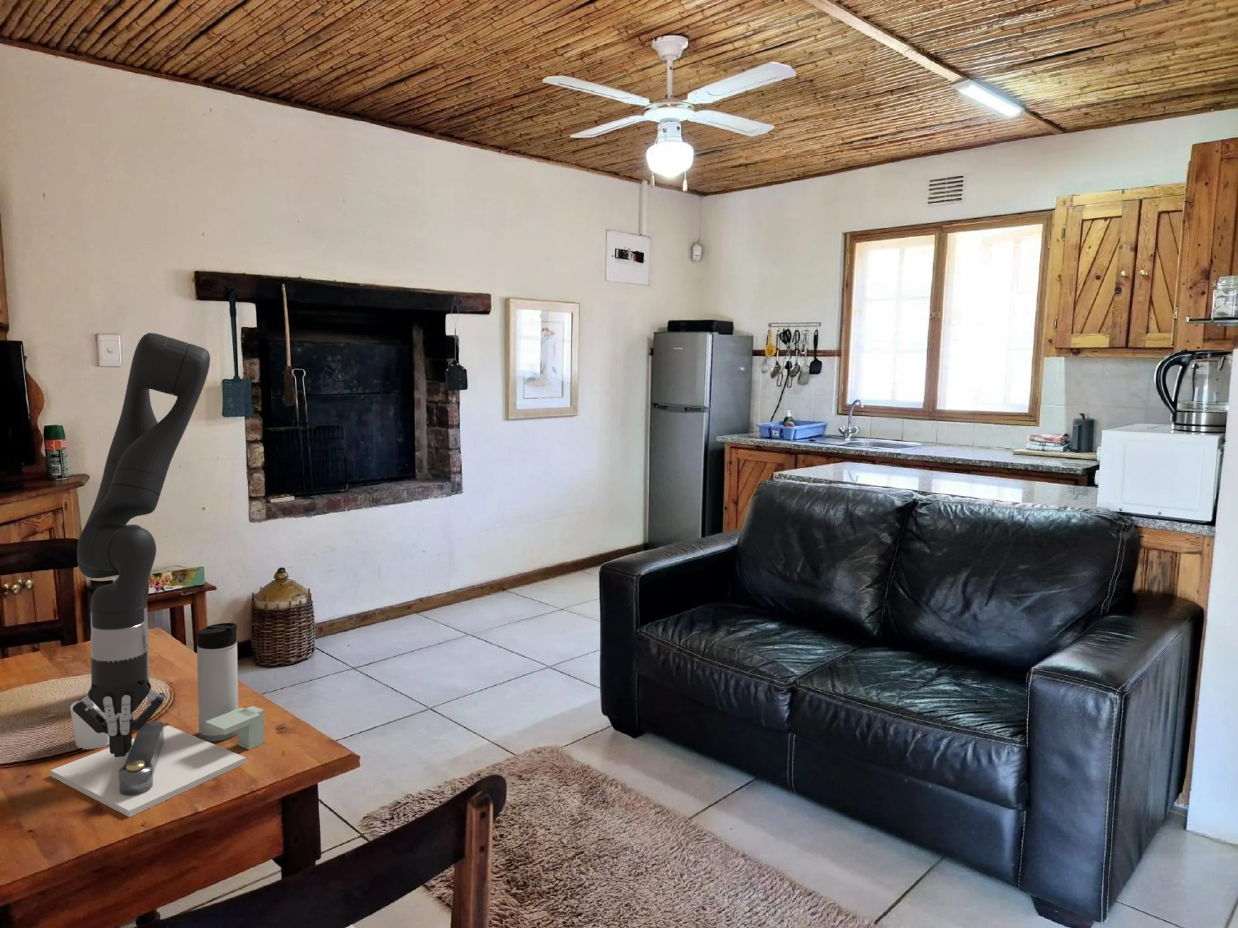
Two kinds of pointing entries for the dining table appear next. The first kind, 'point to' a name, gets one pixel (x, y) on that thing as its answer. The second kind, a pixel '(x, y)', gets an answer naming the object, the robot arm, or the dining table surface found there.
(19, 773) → the dining table surface
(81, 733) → the white cup
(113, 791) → the base plate
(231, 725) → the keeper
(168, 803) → the dining table surface
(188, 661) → the dining table surface
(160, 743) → the link
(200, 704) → the travel mug
